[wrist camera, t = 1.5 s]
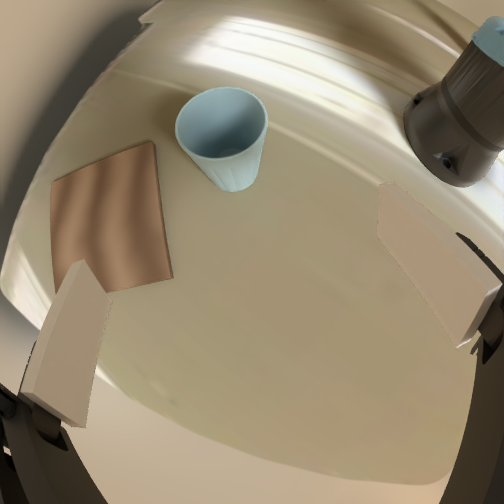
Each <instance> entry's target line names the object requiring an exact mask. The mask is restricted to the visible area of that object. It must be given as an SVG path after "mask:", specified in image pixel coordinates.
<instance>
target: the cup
mask: <svg viewBox="0 0 504 504" xmlns="http://www.w3.org/2000/svg"><path fill="white" fill-rule="evenodd" d="M267 125H268V114H267V111H266V108H265V106H264V104H263V103H262V101H261V100H260V99H259V98H258V97H257V96H255V95H254V94H253V93H251V92H249V91H247V90H244V89H241V88H237V87H216V88H212V89H208V90H206V91H203V92H201V93H199V94H197V95H196V96H194V97H193V98H192V99H190V100H189V101H188V102H187V103H186V104H185V105H184V106H183V108H182V109H181V110H180V112H179V114H178V116H177V119H176V123H175V134H176V139H177V141H178V143H179V145H180V146H181V147H182V149H183V150H184V151H185V152H186V153H187V154H188V155H189V156H190V157H191V158H192V160H193V161H194V162H195V163H196V164H197V165H198V166H199V167H200V169H201V170H202V171H203V172H204V173H205V174H206V175H207V177H208V178H209V179H210V180H211V181H212V182H213V183H214V184H215V185H216V186H217V187H219V188H220V189H222V190H224V191H229V192H236V191H241V190H244V189H245V188H247V187H248V186H250V185H251V184H252V183H253V182H254V180H255V178H256V176H257V173H258V169H259V164H260V159H261V154H262V149H263V144H264V139H265V135H266V130H267Z"/></svg>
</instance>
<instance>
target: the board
mask: <svg viewBox="0 0 504 504" xmlns="http://www.w3.org/2000/svg"><path fill="white" fill-rule="evenodd" d="M50 231H51V252H52V265H53V275H54V284H55V292H56V294H57V292H58V290H59V288H60V286H61V284H62V282H63V280H64V278H65V276H66V274H67V272H68V270H69V268H70V266H71V264H72V263H74V262H77V261H80V260H83V259H84V260H85V261H86V263H87V265H88V266H89V268H90V269H91V271H92V272H93V274H94V276H95V277H96V279H97V280H98V282H99V283H100V285H101V286H102V288H103V289H104V291H105V292H106V293H108V292H113V291H118V290H122V289H127V288H131V287H136V286H140V285H145V284H149V283H154V282H158V281H163V280H167V279H172V278H174V277H173V272H172V267H171V261H170V256H169V250H168V244H167V238H166V232H165V225H164V218H163V211H162V204H161V196H160V188H159V180H158V171H157V161H156V151H155V144H154V143H153V141H151V142H148V143H145V144H142V145H139V146H136V147H134V148H131V149H128V150H126V151H123V152H120V153H118V154H115V155H113V156H110V157H108V158H105V159H103V160H100V161H98V162H96V163H93V164H91V165H89V166H86V167H84V168H82V169H80V170H78V171H75V172H73V173H71V174H69V175H67V176H65V177H63V178H61V179H59V180H57V181H55V182H53V183H51V199H50Z"/></svg>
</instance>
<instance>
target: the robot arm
mask: <svg viewBox="0 0 504 504" xmlns="http://www.w3.org/2000/svg"><path fill="white" fill-rule="evenodd" d="M404 127H405V131H406V134H407V137H408V140H409V142H410V144H411V146H412V148H413V149H414V151H415V153H416V154H417V156H418V157H419V159H420V160H421V161H422V162H423V164H424V165H425V166H426V167H427V168H428V169H429V170H430V171H431V172H432V173H433V174H434V175H436V176H437V177H438V178H439V179H441V180H442V181H444V182H446V183H448V184H450V185H452V186H456V187H469V186H471V185H473V184H475V183H476V182H478V181H480V180H481V179H482V178H483V177H484V176H485V175H486V173H487V172H488V170H489V169H490V167H491V165H492V164H493V162H494V161H495V159H496V157H497V156H498V154H499V152H501V151H502V150H503V149H504V18H502V17H498V16H493V17H490V18H488V19H487V20H486V21H485V22H484V23H483V25H482V26H481V27H480V28H479V30H478V31H476V32H474V33H473V35H472V40H471V42H470V43H469V45H468V46H467V47H466V49H465V50H464V51H463V53H462V54H461V55H460V57H459V58H458V59H457V61H456V62H455V63H454V65H453V66H452V67H451V69H450V70H449V71H448V73H447V74H446V76H445V77H444V78H443V79H442V81H440V82H438V83H436V84H434V85H432V86H430V87H429V88H427V89H425V90H423V91H421V92H419V93H417V94H416V95H415V96H414V97H413V98H412V100H411V101H410V102H409V104H408V105H407V107H406V109H405V112H404ZM377 238H378V239H379V240H380V242H381V243H382V244H383V245H384V247H385V248H386V249H387V250H388V252H389V253H390V254H391V255H392V257H393V258H394V259H395V260H396V262H397V263H398V264H399V266H400V267H401V268H402V270H403V271H404V272H405V274H406V275H407V276H408V278H409V279H410V280H411V282H412V283H413V284H414V286H415V287H416V288H417V290H418V291H419V293H420V294H421V295H422V297H423V298H424V300H425V301H426V303H427V304H428V305H429V307H430V308H431V310H432V311H433V313H434V314H435V316H436V317H437V319H438V320H439V322H440V323H441V325H442V327H443V328H444V330H445V331H446V333H447V334H448V336H449V338H450V339H451V341H452V342H453V344H454V346H455V347H456V348H458V347H460V346H461V345H463V344H465V343H467V342H468V341H470V340H471V339H472V338H473V336H474V334H475V333H476V331H477V329H478V330H479V332H480V333H481V336H480V337H479V339H478V340H477V342H476V343H475V345H474V346H473V348H472V350H471V353H470V354H472V355H473V353H474V352H475V351H476V349H477V348H478V352H477V354H476V355H477V365H476V373H475V381H474V388H473V394H472V399H471V405H470V410H469V414H468V419H467V423H466V427H465V431H464V435H463V439H462V443H461V446H460V449H459V453H458V456H457V459H456V462H455V465H454V468H453V471H452V474H451V476H450V479H449V482H448V484H447V487H446V489H445V491H444V494H443V496H442V498H441V501H440V503H439V504H504V275H503V273H502V272H501V271H500V270H499V269H498V268H497V267H496V266H495V265H494V264H493V262H492V261H491V260H490V259H489V258H488V257H487V256H486V257H485V254H484V253H483V252H482V251H481V250H480V249H478V247H477V246H476V245H475V244H474V243H473V242H472V241H471V240H470V239H469V238H467V237H465V236H463V235H462V234H460V233H458V232H457V233H454V232H453V231H452V230H451V229H450V228H449V227H448V226H447V225H445V224H444V223H443V222H442V221H441V220H440V219H439V218H438V217H437V216H435V215H434V214H433V213H432V212H431V211H430V210H429V209H427V208H426V207H425V206H424V205H423V204H421V203H420V202H419V201H418V200H417V199H415V198H414V197H413V196H412V195H410V194H409V193H408V192H407V191H405V190H404V189H403V188H402V187H400V186H399V185H398V184H396V183H395V182H389V183H384V184H380V185H379V214H378V230H377ZM111 305H112V301H111V299H110V298H109V296H108V295H107V293H106V292H105V291H104V289H103V288H102V286H101V285H100V283H99V282H98V280H97V279H96V277H95V276H94V274H93V272H92V271H91V269H90V268H89V266H88V265H87V263H86V261H85V260H84V259H83V260H80V261H77V262H74V263H72V264H71V266H70V268H69V270H68V272H67V274H66V276H65V278H64V280H63V282H62V284H61V286H60V288H59V290H58V292H57V294H56V296H55V298H54V300H53V303H52V305H51V307H50V309H49V312H48V314H47V316H46V319H45V321H44V323H43V326H42V328H41V331H40V333H39V336H38V338H37V340H36V342H35V343H34V346H33V348H32V351H31V356H30V357H29V360H28V364H27V366H26V369H25V372H24V375H23V378H22V382H21V385H20V389H19V392H18V395H17V396H16V395H15V394H13V393H12V392H11V391H9V390H8V389H7V388H6V387H4V386H3V385H2V384H1V383H0V504H108V503H107V502H106V500H105V499H104V497H103V496H102V494H101V493H100V491H99V490H98V488H97V486H96V485H95V483H94V482H93V480H92V478H91V477H90V475H89V473H88V472H87V470H86V468H85V466H84V465H83V463H82V461H81V459H80V457H79V456H78V454H77V452H76V450H75V448H74V446H73V444H72V442H71V440H70V438H69V436H68V434H67V431H66V430H65V429H64V428H63V427H62V426H61V420H62V421H63V422H65V423H66V424H68V425H70V426H71V427H80V428H86V420H87V414H88V407H89V401H90V395H91V389H92V384H93V379H94V373H95V369H96V364H97V359H98V355H99V350H100V346H101V342H102V338H103V334H104V330H105V326H106V323H107V319H108V315H109V312H110V308H111ZM3 446H5V447H6V448H8V449H10V452H11V455H12V456H10V455H8V454H7V453H5V452H4V448H3Z"/></svg>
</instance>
